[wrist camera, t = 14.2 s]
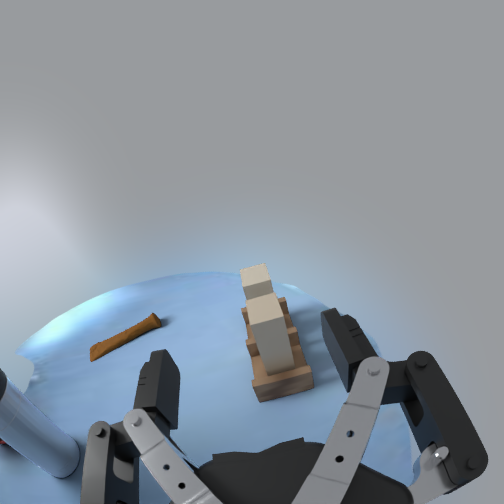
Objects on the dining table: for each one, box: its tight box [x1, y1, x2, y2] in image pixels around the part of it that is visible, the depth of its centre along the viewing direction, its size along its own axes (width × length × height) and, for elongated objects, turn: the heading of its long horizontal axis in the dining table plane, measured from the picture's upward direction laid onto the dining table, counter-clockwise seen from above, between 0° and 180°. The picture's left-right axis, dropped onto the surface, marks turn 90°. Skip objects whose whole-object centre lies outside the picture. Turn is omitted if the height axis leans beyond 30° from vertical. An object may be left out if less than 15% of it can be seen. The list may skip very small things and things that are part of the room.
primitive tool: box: [90, 313, 161, 362], centre depth 54 cm, size 19×6×4 cm, turn 120°
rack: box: [241, 297, 314, 402], centre depth 42 cm, size 8×18×4 cm, turn 7°
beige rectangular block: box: [246, 293, 296, 376], centre depth 36 cm, size 4×5×12 cm
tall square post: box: [240, 263, 274, 300], centre depth 44 cm, size 4×5×12 cm
